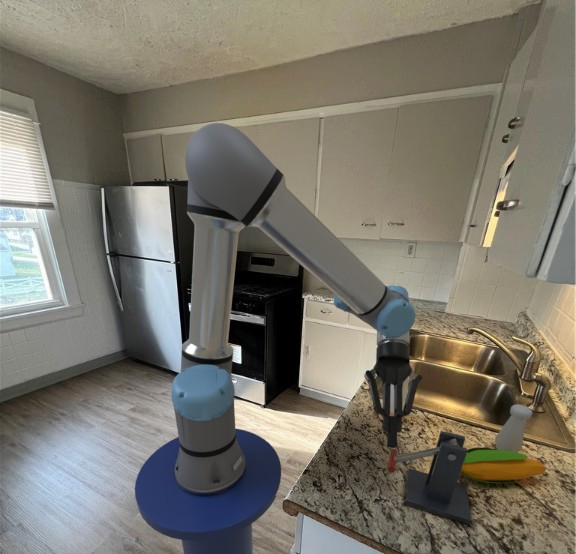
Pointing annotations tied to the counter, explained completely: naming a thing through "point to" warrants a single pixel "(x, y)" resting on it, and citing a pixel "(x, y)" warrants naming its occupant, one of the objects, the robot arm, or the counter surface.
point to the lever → (415, 455)
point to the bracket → (441, 483)
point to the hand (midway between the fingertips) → (391, 447)
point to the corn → (499, 465)
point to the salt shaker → (513, 429)
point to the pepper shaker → (404, 395)
